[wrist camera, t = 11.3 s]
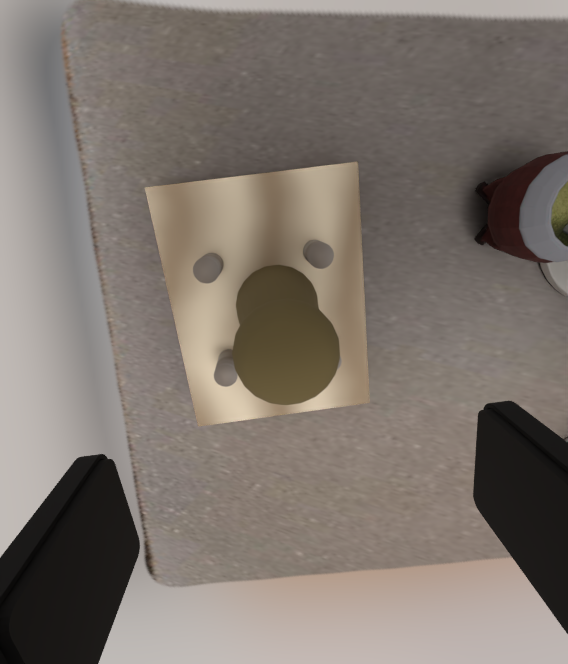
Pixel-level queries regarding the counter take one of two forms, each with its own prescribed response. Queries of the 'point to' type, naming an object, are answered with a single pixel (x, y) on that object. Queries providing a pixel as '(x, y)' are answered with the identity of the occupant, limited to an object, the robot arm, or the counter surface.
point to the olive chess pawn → (283, 337)
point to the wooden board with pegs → (251, 255)
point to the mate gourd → (529, 210)
